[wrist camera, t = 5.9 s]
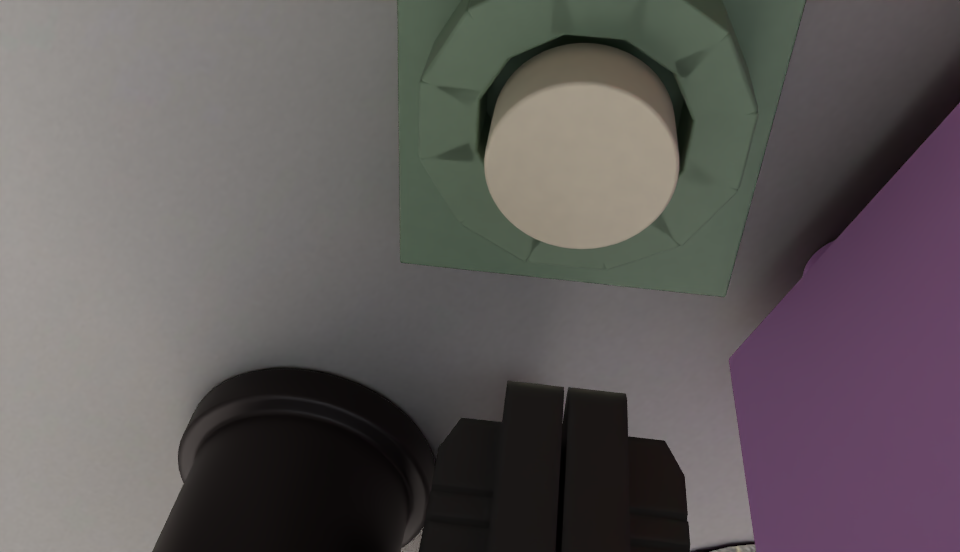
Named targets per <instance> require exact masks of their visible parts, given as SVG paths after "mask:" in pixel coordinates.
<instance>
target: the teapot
mask: <svg viewBox="0 0 960 552" xmlns="http://www.w3.org/2000/svg"><path fill="white" fill-rule="evenodd" d="M729 365H730V372H731V379H732V386H733V393H734V400H735V407H736V414H737V421H738V428H739V435H740V442H741V449H742V456H743V463H744V470H745V477H746V484H747V491H748V498H749V505H750V512H751V519H752V526H753V533H754V540H755V547H756V552H960V103H959V104H958V105H957V106H956V107H955V108H954V109H953V111H952V112H951V113H950V114H949V115H948V116H947V117H946V118H945V119H944V121H943V122H942V123H941V124H940V125H939V126H938V127H937V128H936V129H935V130H934V132H933V133H932V134H931V135H930V136H929V137H928V138H927V139H926V140H925V142H924V143H923V144H922V145H921V146H920V147H919V148H918V149H917V150H916V151H915V153H914V154H913V155H912V156H911V157H910V158H909V159H908V160H907V161H906V163H905V164H904V165H903V166H902V167H901V168H900V169H899V170H898V171H897V172H896V174H895V175H894V176H893V177H892V178H891V179H890V180H889V181H888V182H887V184H886V185H885V186H884V187H883V188H882V189H881V190H880V191H879V192H878V194H877V195H876V196H875V197H874V198H873V199H872V200H871V201H870V202H869V203H868V205H867V206H866V207H865V208H864V209H863V210H862V211H861V212H860V213H859V215H858V216H857V217H856V218H855V219H854V220H853V221H852V222H851V223H850V225H849V226H848V227H847V228H846V229H845V230H844V231H843V232H842V233H841V235H840V236H839V237H838V238H837V239H836V240H834V241H832V242H830V243H828V244H826V245H825V246H823V247H822V248H820V249H819V250H818V251H817V252H816V253H815V254H814V255H813V256H812V257H811V258H810V260H809V261H808V262H807V264H806V267H805V269H804V272H803V277H802V278H801V279H800V280H799V281H798V282H797V283H796V285H795V286H794V287H793V288H792V289H791V290H790V291H789V292H788V293H787V295H786V296H785V297H784V298H783V299H782V300H781V301H780V302H779V303H778V305H777V306H776V307H775V308H774V309H773V310H772V311H771V312H770V313H769V315H768V316H767V317H766V318H765V319H764V320H763V321H762V322H761V323H760V325H759V326H758V327H757V328H756V329H755V330H754V331H753V332H752V333H751V335H750V336H749V337H748V338H747V339H746V340H745V341H744V342H743V344H742V345H741V346H740V347H739V348H738V349H737V350H736V351H735V353H734V354H733V355H732V356H731V357H730V358H729Z"/></svg>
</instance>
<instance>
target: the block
mask: <svg viewBox="0 0 960 552" xmlns="http://www.w3.org/2000/svg"><path fill="white" fill-rule="evenodd" d="M805 3H806V0H397V18H398V112H399V207H400V262H401V263H407V264H417V265H426V266H436V267H445V268H455V269H464V270H473V271H483V272H492V273H502V274H511V275H521V276H530V277H539V278H549V279H558V280H568V281H577V282H587V283H596V284H605V285H615V286H624V287H634V288H643V289H653V290H662V291H671V292H681V293H690V294H700V295H709V296H719V297H725V296H726V294H727V290H728V286H729V282H730V279H731V275H732V271H733V268H734V264H735V260H736V257H737V253H738V249H739V246H740V242H741V238H742V235H743V231H744V227H745V224H746V220H747V216H748V213H749V209H750V205H751V201H752V198H753V194H754V190H755V187H756V183H757V179H758V176H759V172H760V168H761V165H762V161H763V157H764V154H765V150H766V146H767V143H768V139H769V135H770V132H771V128H772V124H773V120H774V117H775V113H776V109H777V106H778V102H779V98H780V95H781V91H782V87H783V84H784V80H785V76H786V73H787V69H788V65H789V62H790V58H791V54H792V51H793V47H794V43H795V40H796V36H797V32H798V28H799V25H800V21H801V17H802V14H803V10H804V6H805ZM574 43H596V44H602V45H607V46H611V47H614V48H618V49H620V50H623V51H625V52H627V53H630V54H631V55H633V56H635V57H636V58H638V59H640V60H641V61H642V62H644V63H645V64H646V65H647V66H649V67H650V68H651V69H652V70H653V71H654V72H655V73H656V74H657V76H658V77H659V78H660V80H661V81H662V83H663V84H664V86H665V87H666V89H667V91H668V93H669V96H670V98H671V101H672V104H673V109H674V115H675V123H676V132H677V141H678V150H679V176H678V181H677V185H676V188H675V191H674V193H673V195H672V198H671V200H670V202H669V203H668V205H667V206H666V208H665V209H664V211H663V212H662V213H661V214H660V215H659V216H658V218H657V219H656V220H655V221H654V222H653V223H651V224H650V225H649V226H648V227H647V228H645V229H644V230H643V231H641V232H640V233H638V234H637V235H635V236H633V237H631V238H629V239H627V240H625V241H622V242H620V243H617V244H613V245H610V246H606V247H600V248H594V249H570V248H563V247H558V246H554V245H550V244H547V243H544V242H542V241H539V240H537V239H535V238H533V237H531V236H529V235H527V234H525V233H524V232H522V231H521V230H520V229H518V228H517V227H516V226H514V225H513V224H512V223H511V222H510V221H509V220H508V219H507V218H506V217H505V216H504V215H503V214H502V212H501V211H500V210H499V208H498V207H497V205H496V204H495V202H494V200H493V198H492V196H491V194H490V192H489V189H488V186H487V183H486V178H485V172H484V157H485V150H486V145H487V140H488V136H489V131H490V127H491V122H492V117H493V113H494V108H495V105H496V102H497V98H498V96H499V94H500V92H501V90H502V88H503V86H504V85H505V83H506V82H507V80H508V79H509V78H510V76H511V75H512V74H513V73H514V72H515V71H516V70H517V69H518V68H519V67H520V66H521V65H522V64H523V63H525V62H526V61H528V60H529V59H531V58H532V57H534V56H536V55H538V54H540V53H541V52H543V51H546V50H549V49H551V48H554V47H558V46H562V45H567V44H574Z"/></svg>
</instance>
